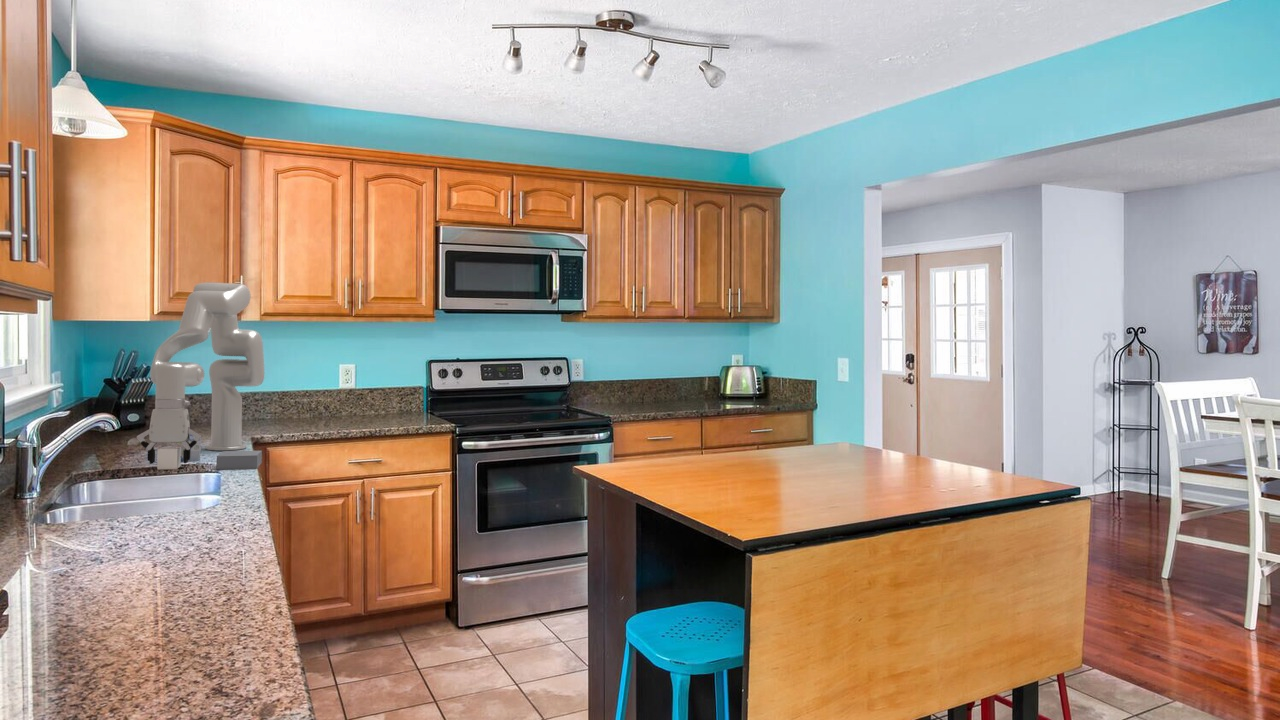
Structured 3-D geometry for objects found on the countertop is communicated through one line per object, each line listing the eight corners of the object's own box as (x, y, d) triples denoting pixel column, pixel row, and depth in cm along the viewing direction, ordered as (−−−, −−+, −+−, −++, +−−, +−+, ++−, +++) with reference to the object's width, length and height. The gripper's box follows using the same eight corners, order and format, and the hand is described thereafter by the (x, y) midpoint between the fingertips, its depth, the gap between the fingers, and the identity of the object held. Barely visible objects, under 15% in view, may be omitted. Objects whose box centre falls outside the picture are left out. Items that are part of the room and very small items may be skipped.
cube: (161, 467, 237) (161, 447, 236) (180, 466, 238) (180, 446, 238) (157, 469, 232) (157, 449, 232) (176, 469, 233) (177, 449, 233)
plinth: (222, 463, 245) (222, 451, 245) (261, 463, 248) (261, 450, 248) (216, 469, 234) (216, 456, 234) (257, 468, 238) (257, 455, 238)
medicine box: (175, 459, 251) (175, 432, 251) (190, 458, 255) (190, 431, 255) (185, 462, 247) (186, 434, 246) (200, 460, 250) (201, 433, 250)
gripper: (205, 403, 241) (204, 460, 241) (139, 403, 235) (138, 461, 236) (200, 405, 234) (199, 464, 234) (132, 405, 228) (131, 465, 229)
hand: (169, 462), depth 235 cm, fingers open, 8 cm apart
